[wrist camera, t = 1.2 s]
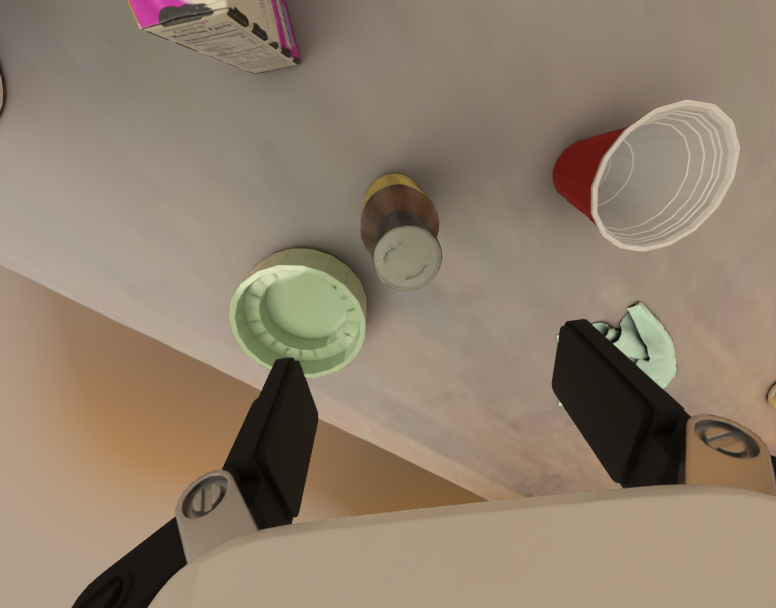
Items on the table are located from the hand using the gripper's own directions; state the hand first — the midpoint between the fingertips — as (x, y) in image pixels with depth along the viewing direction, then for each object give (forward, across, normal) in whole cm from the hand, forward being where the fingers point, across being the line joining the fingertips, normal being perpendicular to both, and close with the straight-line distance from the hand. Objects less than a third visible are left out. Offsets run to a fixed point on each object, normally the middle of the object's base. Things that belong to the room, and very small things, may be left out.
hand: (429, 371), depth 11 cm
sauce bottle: (+28, 0, -1) cm, 28 cm away
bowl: (+28, +13, +11) cm, 32 cm away
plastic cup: (+28, -20, -1) cm, 35 cm away
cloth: (+28, -30, +28) cm, 50 cm away
